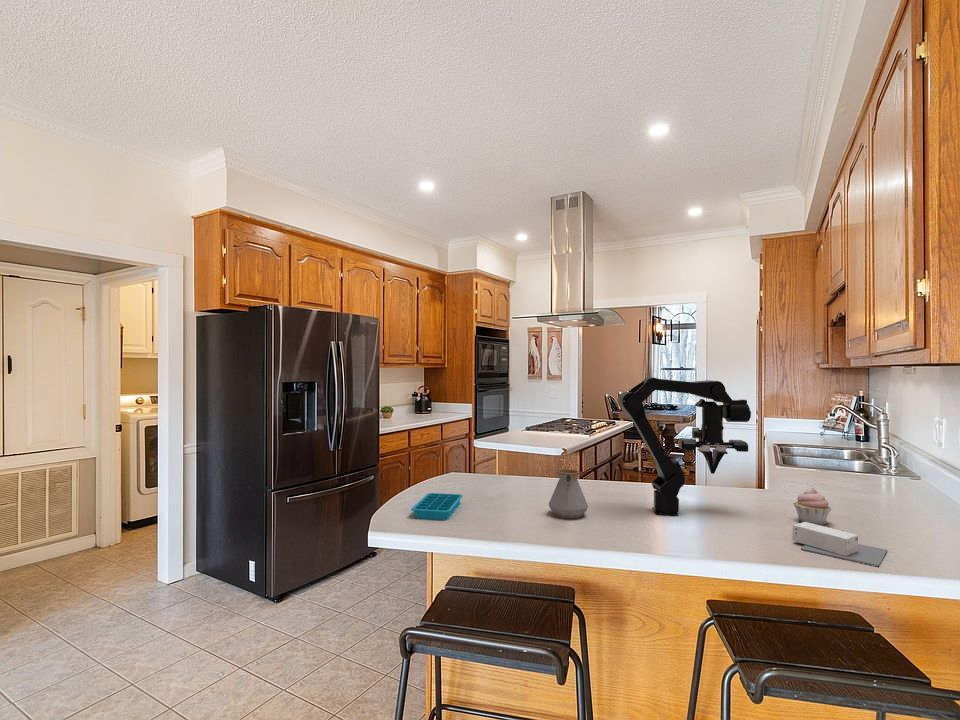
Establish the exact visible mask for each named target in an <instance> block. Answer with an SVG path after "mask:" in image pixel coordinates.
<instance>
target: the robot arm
mask: <svg viewBox="0 0 960 720" xmlns="http://www.w3.org/2000/svg"><path fill="white" fill-rule="evenodd" d="M655 391H661V392H669V393H670V392H672V393H681V394H690V395H693V396H695V397H700V398H699V400H698V401H697V402H695V404H694V406H695V407H699V408H701V421H702V422H701V428H700V427H692V428H691V430H692V431H691V437H692V438H687V437H686V438H682V437H681V438H679V439H678V441H677V442H678V445H677V447H678V448H679V449H680V450H683V451H694V450H695V449H696V448H697V451H698V452H699V453H701V454H702V455H703V457H704V459H705V460H706V464H707V467H708V469H709V473H710V474H712V475H715V473H716V471H717V468H718V467H719V465H720V462H721V460H722V459H723V458H724V456H725V455H728V451H727V449H732V450H733V449H734V450H735V451H736V452H741V453H743V452H744V453H747V452H749V444H748V442H746V441H744V440H741V439H729V440H728V441H726V442H725V441H724V428H725V427H724V421H723V420H725V421H726V422H727V423H748V422H749V421H750V420H751V417H752V411H751V409H750V406H749V404H748V400H747V399H732V397H730V395H729V393H728V392H727V391H726V387H725V385H724V383H723V382H722V381H719V380H697V381H684V380H673V379H666V378H665V379H663V378H656V377H654V376H652V377H651V376H647V377H645V378H644V379H643V380H642V381H641V382H640V383H638V384H636V385H635V386H633V387H632V388H631V389H629V390H628V391H624V392H622V393H619V395H618V398H617V399H616V400H617V404H618V407H620V409H621V410H622V412H623V413H624V414H625V415H626V416H627V417H628V418H629V419H630V420H631V421H632V424H634V427H635V428H636V429H637V431H638V434H639V435H640V437H641V439H642V441H643V443H644V445H645V446H646V447H647V450H648V451H649V453H650V455H651V457H652V459H653V461H654V463H655V469H656V472H657V476H656V477H655V478H654V479H653V480H652V481H651V486H652V489H654V490H653V507H652V511H653V512H654V514H655V515H661V516H662V515H663V516H679V512H680V501H679V500H680V498H679V497H678V495H679V492H680V490H681V488H682V487H684V485H685V482H686V477H685V475H686V472H685V471H683V469H682V467H681V464H680V462H679V461H678V460H676V459H674V458H672V457H671V458H669V456H668V454H667V452H666V451H665V449H664V447H663V445H662V444H661V441H660V439H659V438H658V436H657V435H656V432H655V430H654V429H653V427H652V425H651V423H650V421H649V420H648V417H647V415H646V409H645V405H644V402H645V401H646V400H647V399H648V398H649V397H650V396H651V395H652V394H653V393H654V392H655ZM705 399H708V400H712V401H706V400H705ZM718 403H720V404H718ZM721 403H722V404H721ZM695 439H698V441H697V440H695ZM711 449H712V451H711Z"/></svg>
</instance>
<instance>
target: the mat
mask: <svg viewBox="0 0 960 720" xmlns="http://www.w3.org/2000/svg"><path fill="white" fill-rule="evenodd" d="M800 551H804V552H809V553H814V554H817V555H823V556H826V555H827V556H826V557H831V556H832V557H831V558H835V557H836V559H840V558H841V560H844V559H845V561H849V562H853V561H854V563H858V562H859V564H862V563H864V564H863V565H867V564H869V565H868V566H871V565H875V566H874V567H876V566H879V565H881V564H882V562H883V560H884V559H885V557H886V555H887V553H888V549H886V548H880V547H876V546H872V545H871V546H870V545H867V544H866V545H864V544H861V543H858V551H857V552H855V553H852V554H850V555H847V556H843V555H840V554H836V553H833V552H829V551H826V550H823V549H819V548H816V547H812V546H809V545H805V544H803V546H801V548H800ZM885 554H886V555H885ZM884 556H885V557H884ZM881 561H882V562H881ZM880 563H881V564H880ZM879 567H880V566H879Z"/></svg>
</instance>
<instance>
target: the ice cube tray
mask: <svg viewBox="0 0 960 720" xmlns="http://www.w3.org/2000/svg"><path fill="white" fill-rule="evenodd" d="M463 496H464V495H463V494H460V493H459V494H458V493H442V492H441V493H440V492H439V493H438V492H428V493H426V494H425V495H424V496H423V497H422V498H421V499H420V500H419V501H418V502H417V503H415V504H414V505H413V506H412V507H410V508H411V509H410V510H411V511H413V512H414V519H425V520H441V521H443V520H444V521H446V520H447V521H448V520H449V519H450V518H451V516H452V515H453V514H454V512H455V511H456V510H457V508H458V507H459V506H460V504H461V500H462V498H463Z"/></svg>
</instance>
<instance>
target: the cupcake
mask: <svg viewBox="0 0 960 720" xmlns="http://www.w3.org/2000/svg"><path fill="white" fill-rule="evenodd" d="M792 504H793V506H794V508H795V510H796V513H797V517H798V520H799V521H800V523H803V522H808V523H812V524H816V525H820V526H824V525H825V524H826V523H827V520H828V519H827V518H828V516H829V513H830V512H831V510H833V508H832V507H830V505H829V501H828V500H827V499H826V497H825V496H824V495H823V494H822V493H821V492H819V491H818V490H816V489H815V488H814V487H811V488H808V489H806V490H805V491H804V492H803V493H802V494H799V495H798V496H797V501H795V502H793V503H792Z"/></svg>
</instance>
